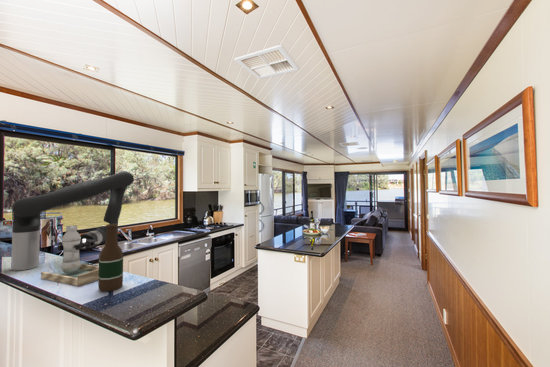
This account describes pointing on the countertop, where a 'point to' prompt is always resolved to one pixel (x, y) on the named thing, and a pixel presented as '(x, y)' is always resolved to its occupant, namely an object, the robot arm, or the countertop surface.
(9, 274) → the countertop surface
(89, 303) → the countertop surface
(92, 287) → the countertop surface
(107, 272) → the beer bottle
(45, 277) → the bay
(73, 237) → the plastic bottle
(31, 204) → the robot arm
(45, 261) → the countertop surface
